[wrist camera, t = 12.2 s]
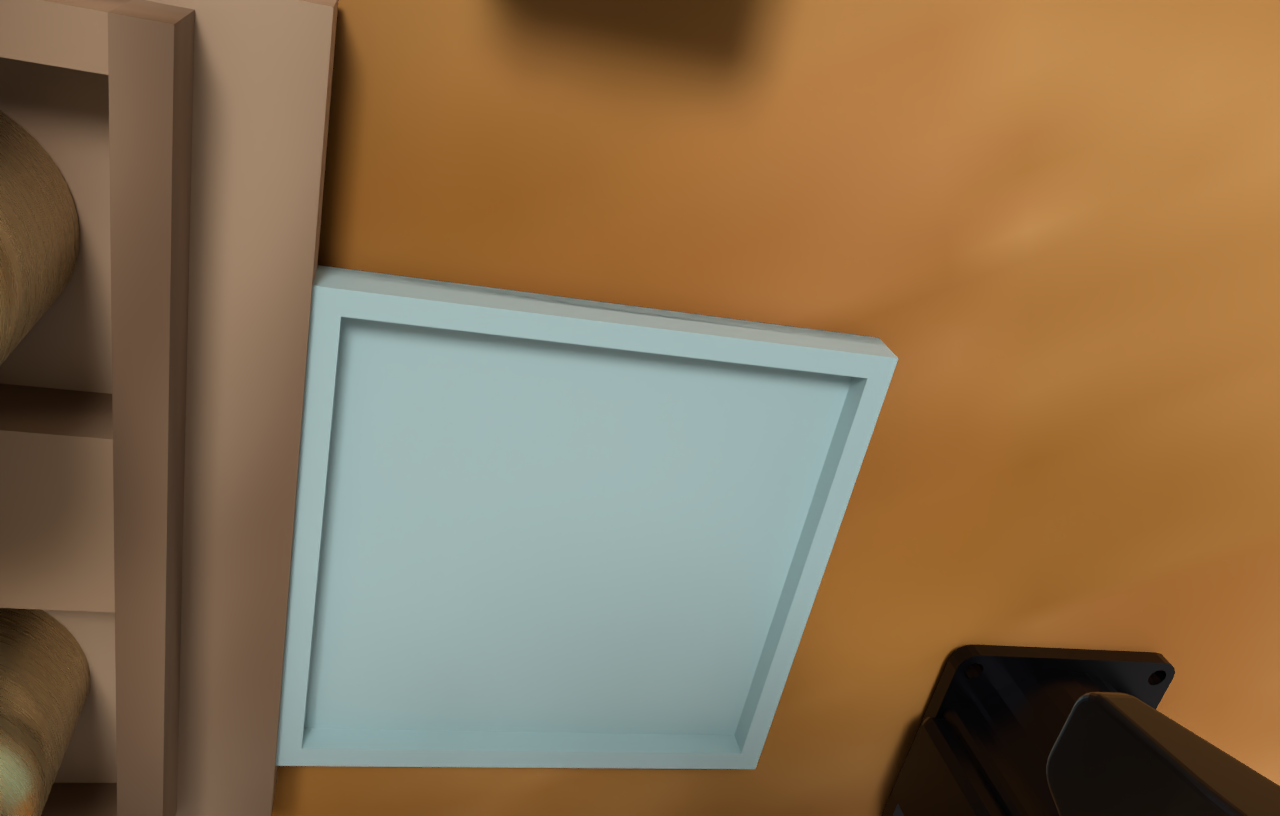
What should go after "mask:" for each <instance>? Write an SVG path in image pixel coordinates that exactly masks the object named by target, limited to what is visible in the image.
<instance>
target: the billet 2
mask: <svg viewBox="0 0 1280 816" xmlns="http://www.w3.org/2000/svg"><path fill="white" fill-rule="evenodd" d="M89 687H90V671H89V665H88V662H87V659H86V656H85V654H84V652H83V650H82V648H81V646H80V644H79V643H78V641H77V640H76V639H75V637H74V636H73V635H72V634H71V633H70V632H69V630H68V629H67V628H66V627H65V626H64V625H62V624H61V623H60V622H59V621H58V620H56V619H55V618H54V617H53V616H51V615H49V614H48V613H46V612H45V611H43V610H40V609H17V608H0V816H41V814H42V811H43V809H44V806H45V804H46V801H47V798H48V796H49V793H50V791H51V788H52V786H53V783H54V781H55V778H56V775H57V773H58V770H59V768H60V765H61V763H62V760H63V757H64V755H65V752H66V750H67V747H68V745H69V742H70V739H71V737H72V734H73V732H74V729H75V727H76V724H77V722H78V719H79V716H80V714H81V711H82V709H83V706H84V704H85V701H86V698H87V695H88V691H89Z"/></svg>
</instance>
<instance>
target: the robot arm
mask: <svg viewBox="0 0 1280 816" xmlns="http://www.w3.org/2000/svg"><path fill="white" fill-rule="evenodd" d="M971 664H972V665H971ZM969 665H971V666H969ZM968 666H969V667H968ZM1174 674H1175V671H1174V667H1173V666H1172V665H1171V664H1170V663H1169V662H1168V661H1167V660H1166V659H1165V658H1164V657H1163V655H1162V654H1159V653H1152V652H1129V651H1106V650H1083V649H1060V648H1037V647H1015V646H992V645H966V646H964V647H961V648H959V649H958V650H956V651H955V652H954V653H953V654H952V655H951V657H950V658H949V660H948V662H947V664H946V667H945V669H944V671H943V674H942V676H941V678H940V681H939V683H938V685H937V688H936V690H935V692H934V695H933V697H932V699H931V702H930V704H929V706H928V709H927V711H926V713H925V716H924V718H923V720H922V723H921V725H920V727H919V729H918V732H917V734H916V736H915V739H914V741H913V743H912V746H911V748H910V750H909V753H908V755H907V757H906V760H905V762H904V764H903V767H902V769H901V771H900V774H899V776H898V778H897V781H896V783H895V785H894V788H893V790H892V792H891V795H890V797H889V799H888V802H887V804H886V806H885V809H884V811H883V813H882V815H881V816H1280V786H1279V785H1277V784H1275V783H1274V782H1272V781H1271V780H1269V779H1267V778H1266V777H1264V776H1263V775H1261V774H1259V773H1258V772H1256V771H1254V770H1253V769H1251V768H1250V767H1248V766H1246V765H1245V764H1243V763H1241V762H1240V761H1238V760H1237V759H1235V758H1233V757H1232V756H1230V755H1228V754H1227V753H1225V752H1224V751H1222V750H1220V749H1219V748H1217V747H1215V746H1214V745H1212V744H1211V743H1209V742H1207V741H1206V740H1204V739H1202V738H1201V737H1199V736H1198V735H1196V734H1194V733H1193V732H1191V731H1189V730H1188V729H1186V728H1185V727H1183V726H1181V725H1180V724H1178V723H1176V722H1175V721H1173V720H1172V719H1170V718H1168V717H1167V716H1165V715H1163V714H1162V713H1160V712H1159V711H1157V710H1156V708H1157V706H1158V704H1159V702H1160V701H1161V699H1162V697H1163V695H1164V693H1165V692H1166V690H1167V688H1168V686H1169V684H1170V683H1171V681H1172V679H1173V677H1174Z"/></svg>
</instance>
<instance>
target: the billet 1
mask: <svg viewBox="0 0 1280 816" xmlns="http://www.w3.org/2000/svg"><path fill="white" fill-rule="evenodd" d="M78 251H79V224H78V216H77V212H76V208H75V204H74V201H73V198H72V195H71V193H70V190H69V188H68V186H67V183H66V181H65V180H64V178H63V176H62V174H61V172H60V171H59V169H58V167H57V166H56V164H55V163H54V161H53V160H52V159H51V157H50V156H49V155H48V153H47V152H46V151H45V149H44V148H43V147H42V146H41V145H40V144H39V143H38V142H37V141H36V140H35V138H34V137H33V136H32V135H31V134H29V133H28V132H27V131H26V130H25V129H24V128H23V127H22V126H20V125H19V124H18V123H17V122H16V121H14V120H13V119H12V118H10V117H9V116H7V115H6V114H5V113H3V112H2V111H1V110H0V365H1V364H2V363H3V362H4V361H5V360H6V358H7V357H8V356H9V355H10V354H11V352H12V351H13V350H14V349H15V348H16V347H17V345H18V344H19V343H20V342H21V341H22V339H23V338H24V337H25V336H26V335H27V333H28V332H29V331H30V330H31V329H32V328H33V326H34V325H35V324H36V323H37V322H38V320H39V319H40V318H41V317H42V316H43V315H44V313H45V312H46V311H47V310H48V309H49V307H50V306H51V305H52V304H53V303H54V301H55V300H56V299H57V298H58V297H59V295H60V294H61V293H62V292H63V290H64V289H65V287H66V285H67V283H68V282H69V280H70V278H71V276H72V273H73V270H74V268H75V265H76V261H77V256H78Z"/></svg>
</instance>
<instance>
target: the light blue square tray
mask: <svg viewBox="0 0 1280 816" xmlns="http://www.w3.org/2000/svg"><path fill="white" fill-rule="evenodd" d="M897 361H898V357H897V356H896V355H895V354H894V353H893V352H892V351H891V350H890V349H889V348H888V347H887V346H886V345H885V344H884V343H883V342H882V341H881V340H880V339H879V338H877V337H869V336H862V335H854V334H846V333H838V332H831V331H823V330H815V329H807V328H800V327H792V326H784V325H776V324H769V323H761V322H753V321H746V320H738V319H730V318H722V317H715V316H707V315H699V314H691V313H684V312H676V311H668V310H660V309H653V308H645V307H637V306H629V305H622V304H614V303H606V302H599V301H591V300H583V299H575V298H568V297H560V296H552V295H544V294H537V293H529V292H521V291H513V290H506V289H498V288H490V287H483V286H475V285H467V284H459V283H452V282H444V281H436V280H428V279H421V278H413V277H405V276H397V275H390V274H382V273H374V272H366V271H359V270H351V269H343V268H336V267H328V266H320V265H317V269H316V274H315V278H314V282H313V288H312V301H311V314H310V327H309V340H308V353H307V365H306V378H305V391H304V404H303V417H302V430H301V443H300V456H299V469H298V482H297V494H296V507H295V520H294V533H293V546H292V559H291V572H290V585H289V598H288V611H287V624H286V636H285V649H284V662H283V675H282V688H281V701H280V714H279V727H278V740H277V753H276V766H375V767H513V768H651V769H756V766H757V763H758V760H759V758H760V755H761V752H762V749H763V746H764V743H765V740H766V737H767V735H768V732H769V729H770V726H771V723H772V720H773V717H774V714H775V712H776V709H777V706H778V703H779V700H780V697H781V694H782V691H783V689H784V686H785V683H786V680H787V677H788V674H789V671H790V668H791V666H792V663H793V660H794V657H795V654H796V651H797V648H798V645H799V643H800V640H801V637H802V634H803V631H804V628H805V625H806V622H807V620H808V617H809V614H810V611H811V608H812V605H813V602H814V599H815V597H816V594H817V591H818V588H819V585H820V582H821V579H822V577H823V574H824V571H825V568H826V565H827V562H828V559H829V556H830V554H831V551H832V548H833V545H834V542H835V539H836V536H837V533H838V531H839V528H840V525H841V522H842V519H843V516H844V513H845V510H846V508H847V505H848V502H849V499H850V496H851V493H852V490H853V487H854V485H855V482H856V479H857V476H858V473H859V470H860V467H861V464H862V462H863V459H864V456H865V453H866V450H867V447H868V444H869V441H870V439H871V436H872V433H873V430H874V427H875V424H876V421H877V418H878V416H879V413H880V410H881V407H882V404H883V401H884V398H885V395H886V393H887V390H888V387H889V384H890V381H891V378H892V375H893V372H894V370H895V367H896V364H897Z"/></svg>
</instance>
